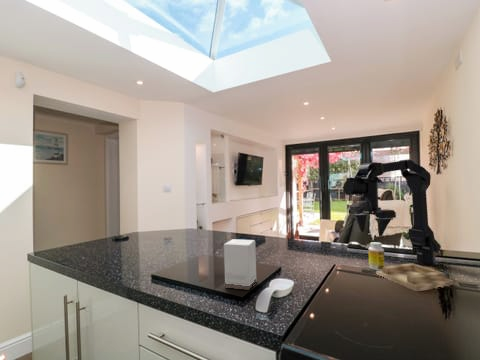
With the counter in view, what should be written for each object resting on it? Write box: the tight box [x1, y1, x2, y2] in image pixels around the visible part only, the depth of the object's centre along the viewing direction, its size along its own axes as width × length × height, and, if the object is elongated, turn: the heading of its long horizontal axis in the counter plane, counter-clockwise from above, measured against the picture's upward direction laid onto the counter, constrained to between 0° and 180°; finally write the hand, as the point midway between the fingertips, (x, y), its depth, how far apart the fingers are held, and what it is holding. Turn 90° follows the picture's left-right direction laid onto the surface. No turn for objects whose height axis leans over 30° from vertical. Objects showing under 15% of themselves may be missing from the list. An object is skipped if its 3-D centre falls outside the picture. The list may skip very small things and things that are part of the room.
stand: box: [375, 262, 454, 292], centre depth 90 cm, size 16×16×4 cm
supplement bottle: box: [368, 241, 385, 271], centre depth 103 cm, size 6×6×10 cm
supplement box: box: [223, 238, 257, 286], centre depth 89 cm, size 9×9×15 cm
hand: (371, 233), depth 101 cm, fingers open, 9 cm apart
